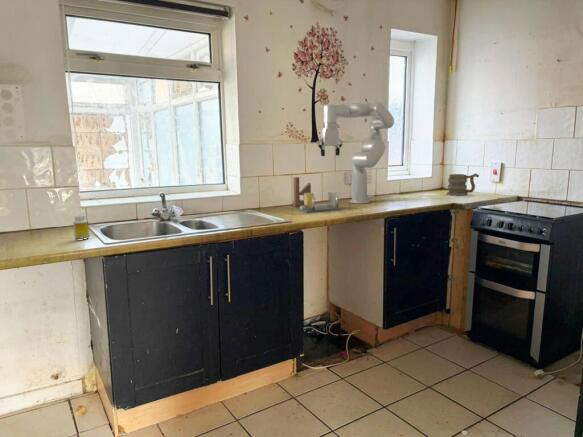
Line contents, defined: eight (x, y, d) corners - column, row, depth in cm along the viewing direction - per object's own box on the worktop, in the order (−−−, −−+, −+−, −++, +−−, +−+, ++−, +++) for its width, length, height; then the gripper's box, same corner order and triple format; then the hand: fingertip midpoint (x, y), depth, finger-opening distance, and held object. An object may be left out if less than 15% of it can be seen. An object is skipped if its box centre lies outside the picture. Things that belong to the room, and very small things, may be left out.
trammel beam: (332, 205, 259) (331, 191, 257) (339, 207, 250) (339, 193, 249) (299, 208, 250) (299, 194, 249) (306, 210, 242) (305, 195, 241)
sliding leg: (310, 207, 253) (310, 192, 252) (317, 209, 245) (317, 194, 243) (304, 207, 251) (303, 193, 250) (311, 209, 243) (310, 194, 242)
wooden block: (311, 206, 269) (310, 176, 266) (295, 207, 265) (294, 177, 262) (308, 205, 272) (308, 176, 269) (292, 206, 268) (292, 177, 265)
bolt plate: (330, 207, 262) (330, 204, 262) (341, 209, 250) (341, 207, 250) (297, 210, 253) (297, 207, 253) (306, 213, 242) (306, 210, 241)
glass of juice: (91, 239, 187) (89, 215, 186) (78, 241, 183) (75, 217, 182) (86, 237, 191) (83, 214, 189) (72, 239, 187) (70, 216, 186)
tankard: (445, 195, 303) (445, 173, 300) (450, 193, 313) (450, 172, 310) (475, 196, 291) (476, 174, 289) (479, 194, 302) (481, 172, 299)
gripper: (339, 126, 263) (339, 155, 265) (313, 126, 256) (314, 156, 259) (346, 125, 256) (346, 155, 259) (319, 126, 249) (320, 156, 252)
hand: (330, 155), depth 259 cm, fingers open, 9 cm apart
